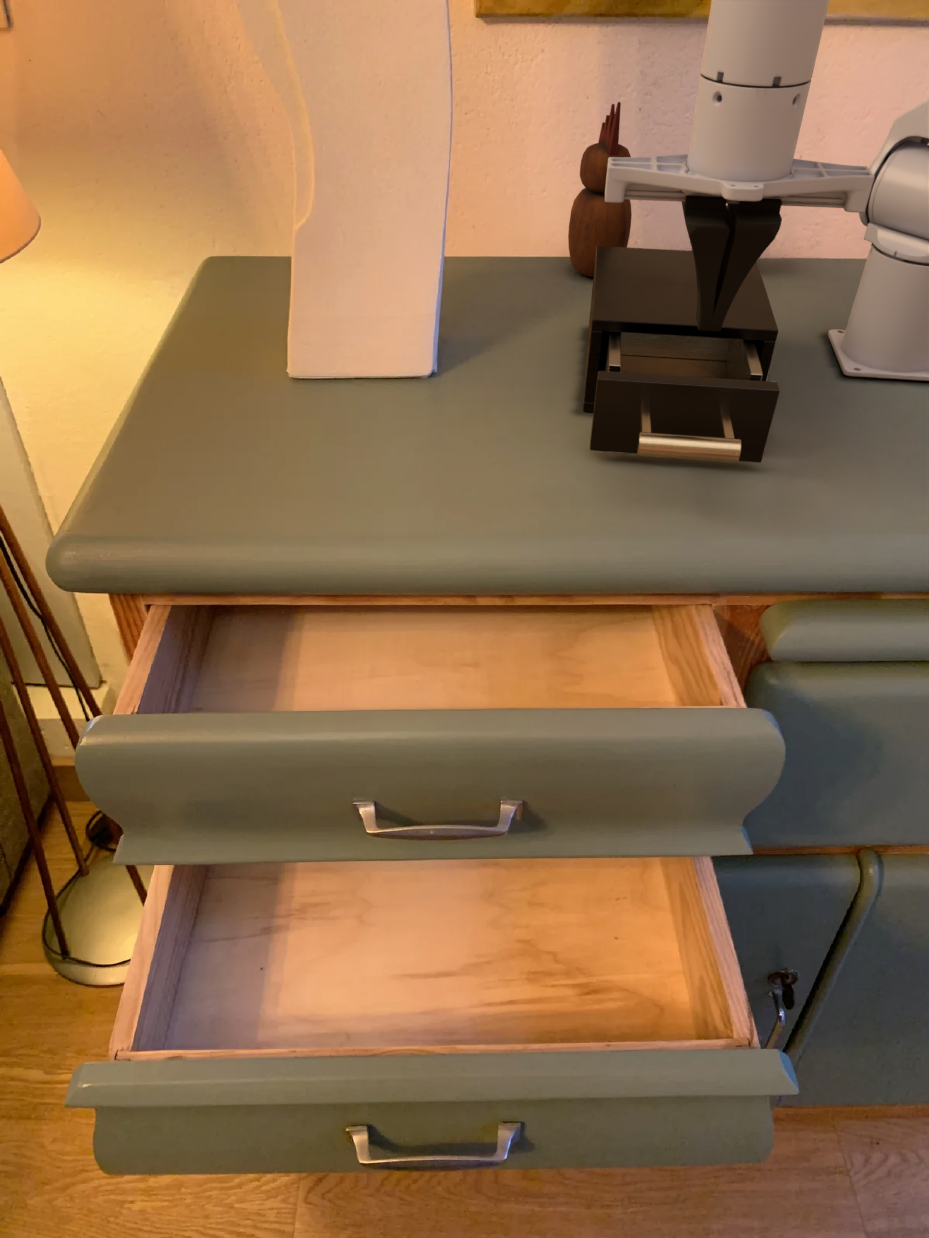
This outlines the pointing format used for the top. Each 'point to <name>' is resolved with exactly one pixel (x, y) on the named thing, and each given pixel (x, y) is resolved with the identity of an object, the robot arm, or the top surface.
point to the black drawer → (682, 398)
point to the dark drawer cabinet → (666, 305)
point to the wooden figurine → (598, 201)
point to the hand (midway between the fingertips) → (708, 324)
